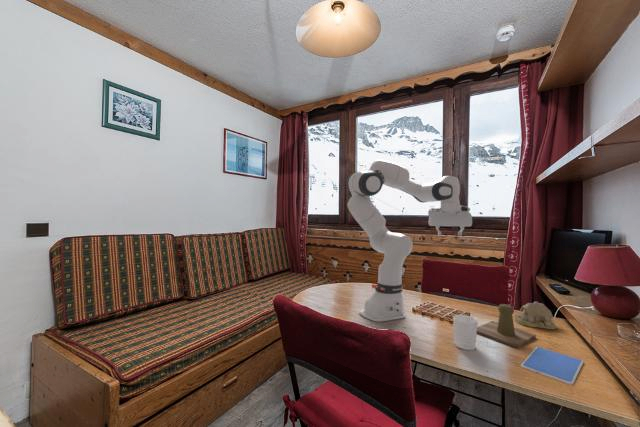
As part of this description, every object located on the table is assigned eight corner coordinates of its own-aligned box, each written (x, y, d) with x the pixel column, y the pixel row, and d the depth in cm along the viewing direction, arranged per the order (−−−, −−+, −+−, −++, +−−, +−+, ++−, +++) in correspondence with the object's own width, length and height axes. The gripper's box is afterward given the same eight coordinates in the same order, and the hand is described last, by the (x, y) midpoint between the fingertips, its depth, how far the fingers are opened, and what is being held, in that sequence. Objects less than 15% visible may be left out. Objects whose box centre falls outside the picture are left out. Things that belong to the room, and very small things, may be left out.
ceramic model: (543, 320, 127) (543, 298, 127) (562, 330, 116) (562, 306, 116) (510, 318, 129) (511, 297, 128) (526, 329, 117) (526, 305, 117)
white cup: (476, 353, 97) (476, 324, 97) (451, 347, 101) (452, 319, 101) (477, 344, 103) (478, 317, 103) (454, 338, 108) (454, 313, 108)
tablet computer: (572, 387, 79) (572, 383, 79) (519, 368, 89) (519, 364, 89) (583, 364, 91) (583, 360, 91) (536, 349, 101) (536, 345, 101)
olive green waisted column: (512, 330, 113) (512, 303, 112) (517, 337, 107) (517, 308, 107) (495, 328, 115) (495, 301, 114) (499, 334, 109) (499, 306, 109)
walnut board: (516, 348, 100) (516, 345, 100) (472, 331, 114) (472, 329, 114) (535, 337, 109) (535, 334, 109) (492, 323, 123) (492, 320, 123)
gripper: (429, 208, 141) (429, 235, 141) (473, 208, 137) (473, 236, 137) (427, 208, 147) (427, 234, 147) (469, 208, 143) (469, 235, 143)
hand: (449, 235), depth 142 cm, fingers open, 8 cm apart
